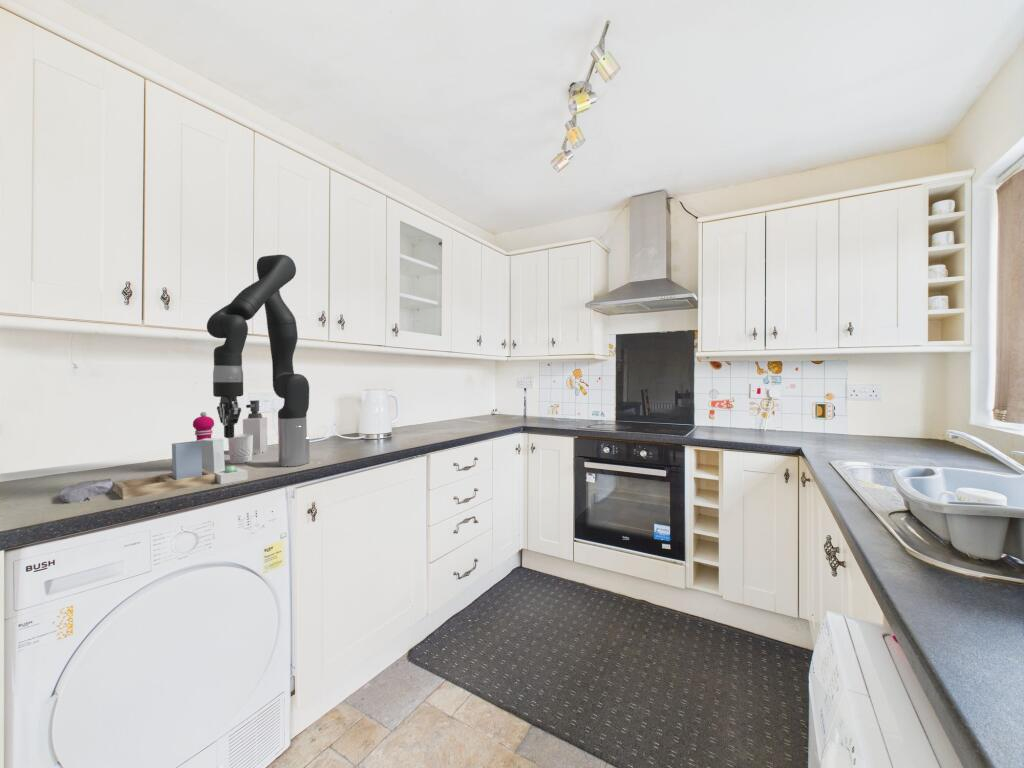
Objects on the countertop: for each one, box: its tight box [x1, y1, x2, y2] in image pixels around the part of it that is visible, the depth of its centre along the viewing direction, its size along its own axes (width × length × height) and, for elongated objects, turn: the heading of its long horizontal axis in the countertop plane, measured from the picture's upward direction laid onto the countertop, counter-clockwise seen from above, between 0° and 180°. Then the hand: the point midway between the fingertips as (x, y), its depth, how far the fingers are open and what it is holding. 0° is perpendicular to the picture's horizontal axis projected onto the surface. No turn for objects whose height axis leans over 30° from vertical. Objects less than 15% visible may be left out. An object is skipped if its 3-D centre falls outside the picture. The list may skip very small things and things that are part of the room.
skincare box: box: [196, 437, 226, 473], centre depth 133 cm, size 6×4×12 cm
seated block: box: [171, 440, 202, 480], centre depth 119 cm, size 6×4×12 cm, turn 143°
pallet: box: [114, 469, 216, 500], centre depth 116 cm, size 20×11×4 cm, turn 143°
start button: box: [225, 465, 236, 473], centre depth 124 cm, size 3×3×2 cm
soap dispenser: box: [242, 400, 268, 454], centre depth 170 cm, size 6×9×22 cm
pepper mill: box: [192, 411, 215, 441], centre depth 142 cm, size 7×7×20 cm
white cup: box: [227, 433, 253, 464], centre depth 153 cm, size 8×8×10 cm
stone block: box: [59, 477, 114, 504], centre depth 111 cm, size 12×5×10 cm
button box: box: [213, 467, 249, 485], centre depth 124 cm, size 7×7×4 cm
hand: (229, 437), depth 124 cm, fingers closed
